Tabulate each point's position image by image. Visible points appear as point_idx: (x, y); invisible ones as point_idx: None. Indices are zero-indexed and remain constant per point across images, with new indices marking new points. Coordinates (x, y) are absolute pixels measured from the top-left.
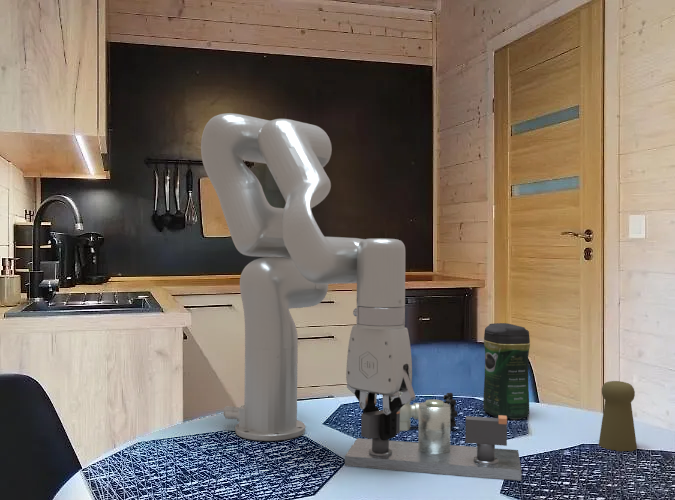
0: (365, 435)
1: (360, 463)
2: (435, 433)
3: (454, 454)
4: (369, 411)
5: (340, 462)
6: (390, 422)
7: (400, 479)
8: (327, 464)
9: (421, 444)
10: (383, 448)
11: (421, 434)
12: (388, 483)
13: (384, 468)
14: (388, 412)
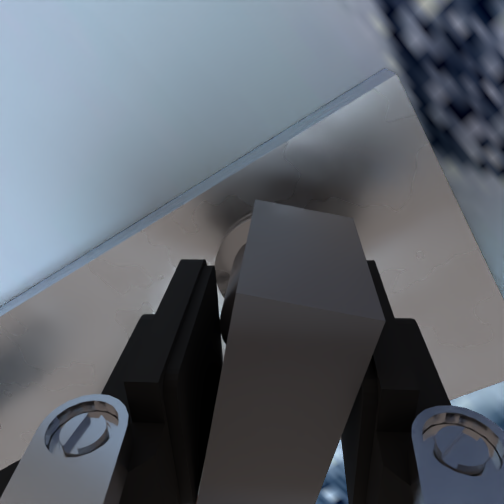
0: (300, 214)
1: (303, 123)
2: None
3: None
4: (361, 415)
5: (445, 99)
6: (118, 370)
7: (42, 128)
8: (491, 6)
9: None
10: (233, 266)
11: None
12: (25, 33)
13: (196, 187)
14: (76, 423)
